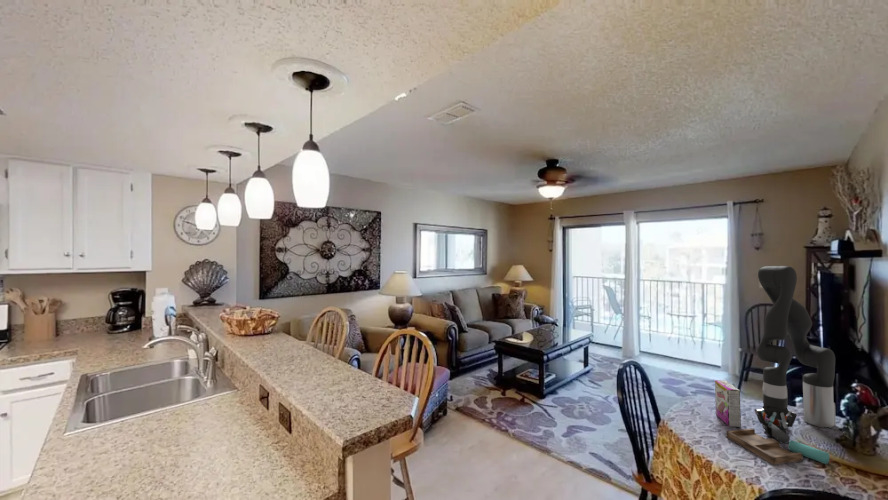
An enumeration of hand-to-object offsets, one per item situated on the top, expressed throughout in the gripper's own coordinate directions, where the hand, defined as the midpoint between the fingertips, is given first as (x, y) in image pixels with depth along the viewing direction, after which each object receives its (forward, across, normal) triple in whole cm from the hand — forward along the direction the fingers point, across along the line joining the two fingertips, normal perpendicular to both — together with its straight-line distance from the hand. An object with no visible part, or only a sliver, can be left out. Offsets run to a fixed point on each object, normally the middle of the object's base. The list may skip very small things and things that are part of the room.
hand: (775, 435), depth 151 cm
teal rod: (-1, +4, -12) cm, 13 cm away
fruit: (+1, +6, +11) cm, 12 cm away
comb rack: (+1, -10, -10) cm, 14 cm away
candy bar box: (+1, -12, +12) cm, 17 cm away
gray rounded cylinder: (+1, 0, 0) cm, 1 cm away
